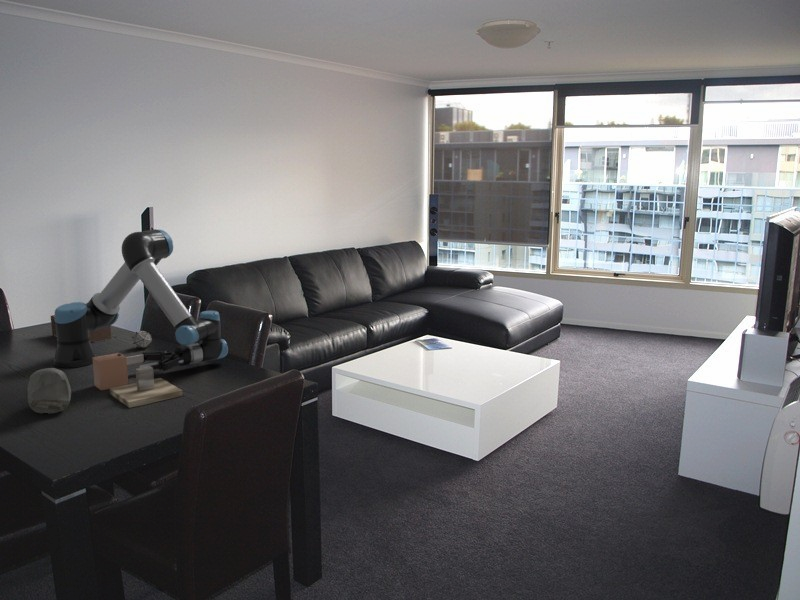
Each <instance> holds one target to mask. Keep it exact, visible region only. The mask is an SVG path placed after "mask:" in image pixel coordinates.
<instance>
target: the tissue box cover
mask: <svg viewBox="0 0 800 600" xmlns="http://www.w3.org/2000/svg"><path fill="white" fill-rule="evenodd" d="M54 318H55V314H53V315H50V323H51V324H50V326H51V334H52V335H55V336H56V327H55V320H54ZM111 326H112V325H111ZM111 326H108V327H107V328H103V329H99V330H96V331H93V332H89V338H90V342H95V341H100V340H104V341H106V340H105V339H109V340H112V327H111ZM100 342H101V341H100ZM95 343H96V342H95Z"/></svg>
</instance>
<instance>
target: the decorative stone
mask: <svg viewBox="0 0 800 600" xmlns="http://www.w3.org/2000/svg"><path fill="white" fill-rule="evenodd" d="M71 397H72V388H71V384H70V382H69V379H68V377H67V374H66V373H65V371H63V370H61V369H57V368H55V367H47V368H41V369H39V370H38V369H37V370H35V372H33V373H32V374H31V375H30V377H29V380H28V383H27V403H28V405H29V408H30V409H31V410H32V411H33V412H35V413H38V414H43V413H48V414H57V413H59V412H60V413H61V412H62V411H64V410H66V409H67V408H68V406H69V405H70V402H71Z"/></svg>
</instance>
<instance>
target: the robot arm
mask: <svg viewBox="0 0 800 600" xmlns="http://www.w3.org/2000/svg"><path fill="white" fill-rule="evenodd" d="M173 251H174V243H173V239H172V237H171V235H170V234H169V233H168V232H167V231H165V230H164V229H149V230H144V231H143V230H142V231H135V232H131V233H130V234H128V235H127V236H126V237H125V238H124V239H123V242H122V245H121V256H122V257H123V258H122V259H123V260H124V263H123V264H122V265H121V267H120V268H119V269H118V270H117V272H116V273H115V274H114V275H113V277H111V279H110V280H109V282H108V283H107V284H106V285H105V287H104V288H103V289H102V290H101V292H97V293H94V294H93V296H92V297H91V298H90V300H88V302H86V303H85V302H80V301H79V302H78V301H77V302H76V301H74V302H70V303H65V304H62V305H59V306H58V307H56V308H55V310H54V315H55V318H54V320H55V327H56V336H57V338H56V342H57V343H56V344H57V345H56V351H55V354H54V358H53V365H54V366H55V365H56V366H55V367H57V366H58V367H57V368H62V367H66V368H67V369H68V368H69V367H71V368H78V367H84V366H88V365H89V366H90V365H93V359H92V357H97V355H96V353H95V350H94V349H93V346H92V343H90V338H89V332H93V331H96V330H99V329H103V328H107V327H108V326H112V325H114V324H115V323H116V322H117V320H118V319H119V316H120V314H119V312H120V309H121V307H120V305H121V303H122V302H123V301H124V300H125V299H126V297H127V296H128V295H129V294H130V292H131V291H132V290H133V289H134V287H135V286H136V285H137V284H138V283H139V281H141V282H142V285H143V286H145V288H146V289H147V291H148V292H149V294H150V295H151V297H152V298H153V299H154V300H155V302H156V303H157V305H158V306H159V307H160V309H161V310H162V311H163V313H164V315H165V316H166V317H167V319H168V320H169V322H170V323H171V324H172V326H173V327H174V329H175V330H176V331H175V333H174V336H175V340H176V342H177V343H178V344H179V345H180V346H177V347H176V348H175V350H174V351H170V350H163V351H162V350H161V351H159V350H158V351H145V352H144V351H143V352H141V354H138V355H131V356H126V359H127V366H128V365H134V364H138V363H145V364H140V365H138V368H143V367H148V366H151V367H153V372H154V371H158V370H159V371H161V370H162V371H168V370H170V369H173V368H175V367H178V366H180V367H183V366H188V365H189V366H190V365H192V364H193V365H197V364H198V363H203V362H208V361H214V360H220V359H223V358H225V357H226V356H227V355H228V352H229V346H228V343H227V341H226V340H225V339H224V338H221V334H222V333H221V317H220V313H219V311H217V310H205V311H201V312H200V313H199V317H198V319H197V320H196V319H195V318H194V317H193V315H192V314H191V312H190V311H189V309H188V308H187V307H186V305H185V304H184V303H183V302H182V300H181V298H180V297H179V296H178V294H177V293H176V291H175V290H174V289H173V287H172V285H170V283H169V282H168V280H167V279H166V278H165V276H164V274H163V273H162V271H160V269H159V268H158V266H157V265H158V264H159V263H160V261H161V260H163V259H167V258H169V257H170V256H171V255H172V253H173ZM146 361H147V362H149V361H150V362H151V361H154V362H151V363H146ZM155 361H156V362H155ZM66 368H65V369H66Z"/></svg>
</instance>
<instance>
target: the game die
mask: <svg viewBox="0 0 800 600" xmlns="http://www.w3.org/2000/svg"><path fill="white" fill-rule="evenodd" d="M149 332H150V330H147V331H145V330H143V329H142V328H140V331H135V333H136V334H135V335H134V336H131V338H132V339H133V343H132V344H133V345H135V346H136V349H137V348H141V349H143V350H145V348H146V347H147V348H149V347H150V345H151V343H154V342H155V340H153V339H152V336H153V334H150V333H149Z"/></svg>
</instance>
